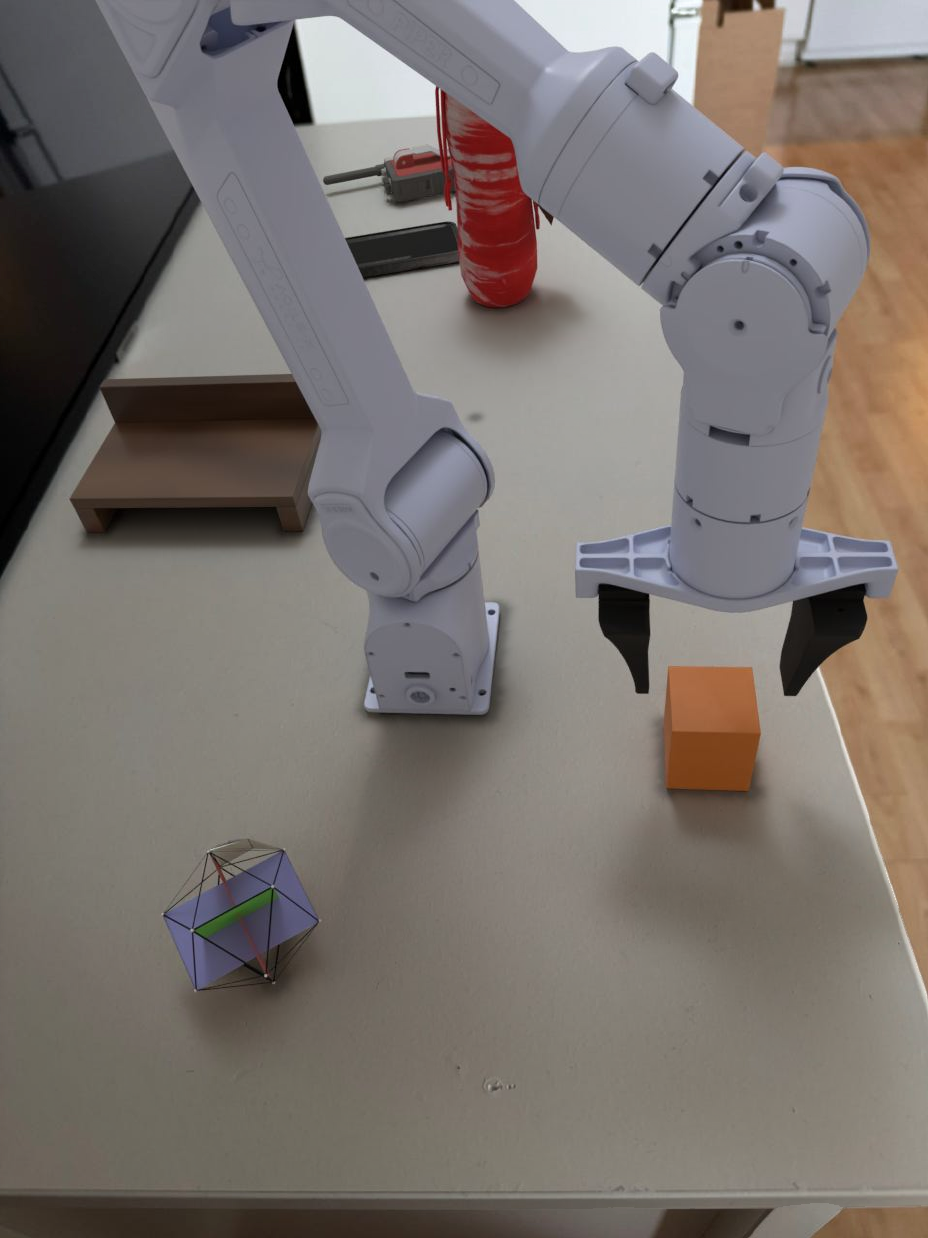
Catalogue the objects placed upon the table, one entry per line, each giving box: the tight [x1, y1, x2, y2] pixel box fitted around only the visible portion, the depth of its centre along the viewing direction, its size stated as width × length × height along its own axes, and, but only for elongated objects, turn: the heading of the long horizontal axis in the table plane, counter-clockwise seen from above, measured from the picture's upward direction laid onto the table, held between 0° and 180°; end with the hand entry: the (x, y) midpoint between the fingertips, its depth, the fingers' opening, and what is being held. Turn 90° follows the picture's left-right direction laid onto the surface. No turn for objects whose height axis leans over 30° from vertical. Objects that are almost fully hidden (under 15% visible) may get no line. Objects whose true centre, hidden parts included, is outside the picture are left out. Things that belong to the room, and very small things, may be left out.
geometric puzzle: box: [160, 838, 322, 993], centre depth 48 cm, size 7×7×8 cm
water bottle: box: [434, 85, 555, 308], centre depth 87 cm, size 12×8×25 cm, turn 91°
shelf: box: [69, 373, 322, 533], centre depth 76 cm, size 11×18×7 cm, turn 84°
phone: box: [344, 220, 459, 278], centre depth 103 cm, size 8×1×15 cm
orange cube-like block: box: [662, 665, 762, 792], centre depth 54 cm, size 5×5×6 cm
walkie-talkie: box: [322, 144, 455, 203], centre depth 114 cm, size 9×4×20 cm
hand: (714, 680), depth 51 cm, fingers open, 7 cm apart
